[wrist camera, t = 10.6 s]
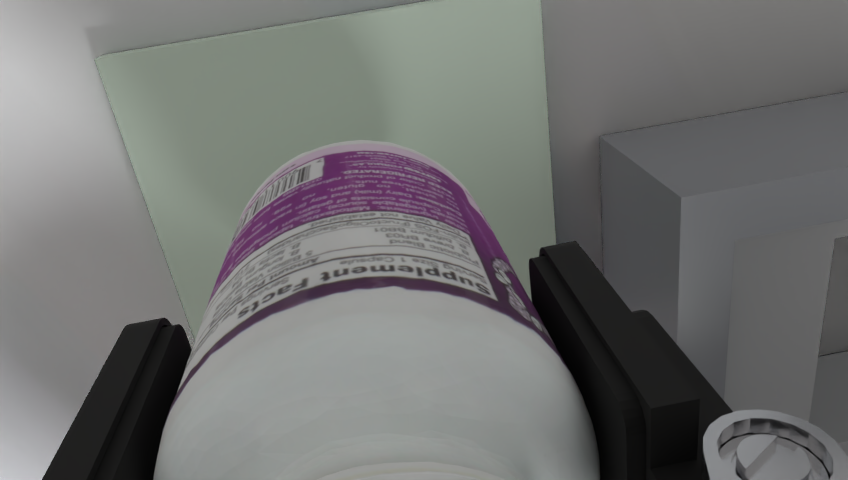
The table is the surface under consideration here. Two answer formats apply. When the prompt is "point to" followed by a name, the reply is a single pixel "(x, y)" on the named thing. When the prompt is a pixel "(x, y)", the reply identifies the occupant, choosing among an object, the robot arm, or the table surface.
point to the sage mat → (337, 118)
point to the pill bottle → (372, 339)
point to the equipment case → (737, 247)
